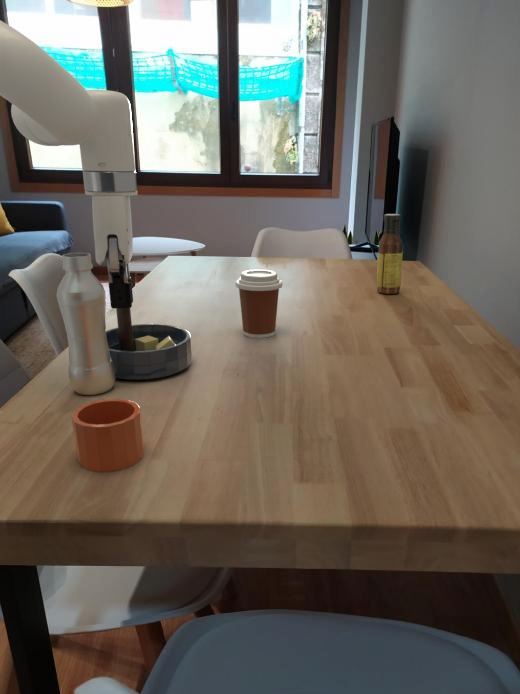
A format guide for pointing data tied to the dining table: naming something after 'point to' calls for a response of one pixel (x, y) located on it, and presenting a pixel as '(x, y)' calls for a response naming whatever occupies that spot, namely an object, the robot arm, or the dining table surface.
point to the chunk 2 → (165, 343)
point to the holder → (108, 435)
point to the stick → (125, 329)
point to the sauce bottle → (390, 257)
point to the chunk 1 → (146, 343)
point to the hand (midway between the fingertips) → (122, 304)
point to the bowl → (150, 353)
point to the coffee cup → (259, 302)
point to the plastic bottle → (85, 326)
